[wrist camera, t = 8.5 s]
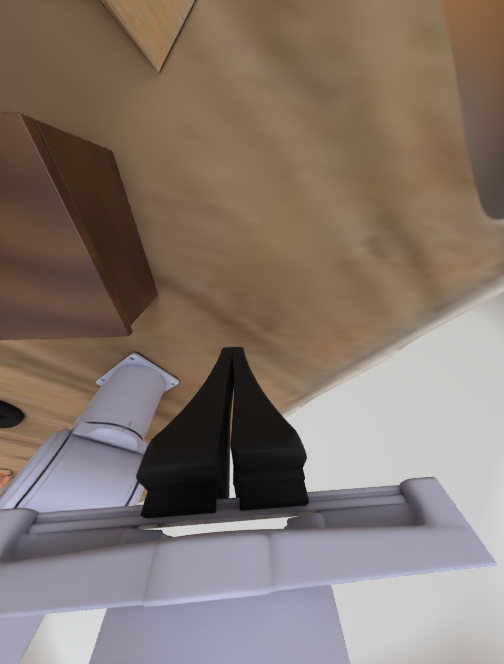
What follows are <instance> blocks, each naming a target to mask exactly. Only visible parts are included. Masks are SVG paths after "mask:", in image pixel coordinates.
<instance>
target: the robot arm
mask: <svg viewBox="0 0 504 664" xmlns="http://www.w3.org/2000/svg"><path fill="white" fill-rule="evenodd" d="M96 383H97V384H98V385H100V386H101V388H100V389H99V390H98V391H97V393H96V394H95V395H94V397H93V398H92V399H91V401H90V402H89V403H88V405H87V406H86V407H85V409H84V410H83V411H82V413H81V414H80V415H79V417H78V418H77V419H76V421H75V423H74V425H73V427H72V430H68V429H62V430H61V431H58V432H55V433H53V434H52V435H51V436H50V437H49V438H48V439H47V440H46V441H45V442H44V443H43V444H42V446H41V447H40V448H39V449H38V450H37V451H36V453H35V454H34V455H33V456H32V457H31V458H30V460H29V461H28V462H27V463H26V464H25V466H24V467H23V468H22V469H21V470H20V472H19V473H18V474H17V475H16V477H15V478H14V479H13V480H12V482H11V483H10V484H9V485H8V487H7V488H6V489H5V490H4V492H3V493H2V494H1V495H0V664H19V663H20V661H21V659H22V657H23V656H24V654H25V652H26V650H27V648H28V646H29V644H30V642H31V640H32V639H33V637H34V635H35V633H36V631H37V629H38V627H39V626H40V624H41V622H42V620H43V618H44V616H45V614H48V613H57V612H58V613H59V612H70V611H80V610H91V609H102V608H107V610H106V613H105V616H104V619H103V622H102V625H101V628H100V632H99V635H98V638H97V641H96V644H95V647H94V650H93V653H92V656H91V659H90V662H89V664H350V661H349V657H348V653H347V649H346V645H345V640H344V636H343V632H342V628H341V624H340V620H339V616H338V611H337V607H336V603H335V599H334V595H333V591H332V587H331V584H340V583H348V582H356V581H365V580H374V579H382V578H391V577H398V576H408V575H417V574H425V573H434V572H442V571H451V570H460V569H468V568H478V567H488V566H496V561H495V560H494V558H493V557H492V556H491V554H490V553H489V552H488V550H487V549H486V547H485V546H484V544H483V543H482V542H481V540H480V539H479V537H478V536H477V534H476V533H475V532H474V530H473V529H472V528H471V526H470V525H469V523H468V522H467V521H466V519H465V518H464V516H463V515H462V514H461V512H460V511H459V509H458V508H457V507H456V505H455V504H454V502H453V501H452V500H451V499H450V497H449V495H448V494H447V493H446V491H445V490H444V488H443V487H442V486H441V484H440V483H439V482H438V480H437V479H436V478H435V477H425V478H412V479H407V480H405V481H403V482H401V483H400V485H396V486H382V487H369V488H356V489H343V490H330V491H317V492H307V491H306V487H305V482H304V480H305V476H304V472H303V466H304V464H305V462H306V459H307V456H306V452H305V449H304V446H303V444H302V442H301V439H300V438H299V436H298V434H297V432H296V430H295V429H294V428H293V427H292V426H291V425H290V424H289V423H288V422H287V421H286V420H285V419H284V418H283V416H282V415H281V414H280V413H279V412H278V411H277V409H276V408H275V407H274V406H273V404H272V403H271V402H270V400H269V399H268V398H267V396H266V395H265V394H264V392H263V391H262V389H261V387H260V386H259V384H258V383H257V381H256V379H255V377H254V375H253V373H252V371H251V369H250V367H249V365H248V362H247V360H246V357H245V353H244V348H243V347H226V348H223V349H222V351H221V354H220V356H219V358H218V360H217V363H216V364H215V366H214V368H213V370H212V372H211V373H210V375H209V376H208V378H207V380H206V381H205V383H204V384H203V386H202V387H201V388H200V390H199V391H198V392H197V394H196V395H195V396H194V397H193V399H192V400H191V401H190V402H189V403H188V405H187V406H186V407H185V408H184V409H183V410H182V411H181V412H180V413H179V414H178V415H177V416H176V417H175V418H174V419H173V420H172V421H171V422H170V423H169V424H168V425H167V426H166V427H165V428H164V429H163V430H162V431H161V432H159V433H158V434H157V435H156V436H155V437H154V438H153V439H152V440H151V442H150V444H149V446H148V447H147V445H148V442H145V441H144V439H145V436H146V434H147V431H148V429H149V426H150V424H151V421H152V419H153V416H154V414H155V411H156V409H157V406H158V404H159V401H160V399H161V396H162V394H163V393H164V392H165V391H167V390H169V389H170V388H172V387H174V386H175V385H177V384H178V383H179V380H178V379H176V378H175V377H173V376H171V375H170V374H168V373H167V372H165V371H164V370H162V369H161V368H159V367H157V366H156V365H154V364H153V363H151V362H150V361H148V360H147V359H145V358H143V357H142V356H140V355H139V354H137V353H132V354H130V355H129V356H128V357H126V358H125V359H124V360H122V361H121V362H120V363H119V364H117V365H116V366H115V367H113V368H112V369H111V370H109V371H108V372H107V373H105V374H104V375H103V376H102V377H100V378H99V379H98V380H97V381H96ZM233 390H234V402H233V419H232V432H231V452H232V459H233V485H234V488H235V494H236V498H229V478H230V477H229V474H230V419H231V408H232V399H233ZM146 448H147V450H146ZM145 451H146V452H145ZM144 489H146V490H147V491H148V492H147V495H146V498H145V502H144V505H136V504H137V503H138V501H139V499H140V497H141V495H142V493H143V491H144ZM293 516H298V517H293ZM281 517H293V518H289V519H288V520H287V526H286V527H284V529H261V530H239V531H224V532H213V533H203V534H194V535H185V536H179V537H171V536H167V535H165V534H164V533H163V532H162V530H143V529H150V528H162V527H174V526H185V525H197V524H209V523H221V522H233V521H245V520H256V519H269V518H281Z"/></svg>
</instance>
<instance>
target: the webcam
mask: <svg viewBox="0 0 504 664" xmlns="http://www.w3.org/2000/svg"><path fill="white" fill-rule="evenodd" d="M0 414H2V415H4V416H1V417H0V428H11V427H14V426H17V425H18V424H20V423H21V422H22V420H23V415H22V413H21V412H20V411H19V410H18V409H16V408H15V407H13V406H11V405H9V404H6V403H3V402H0Z"/></svg>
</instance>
